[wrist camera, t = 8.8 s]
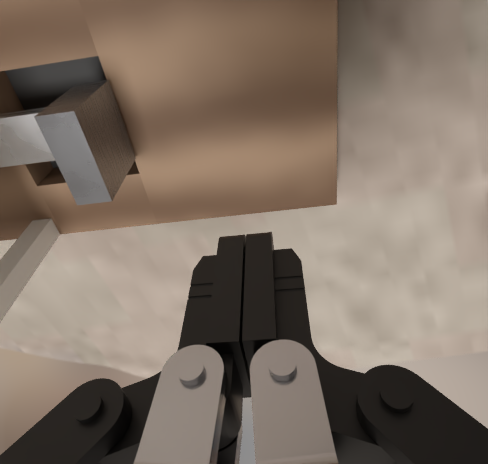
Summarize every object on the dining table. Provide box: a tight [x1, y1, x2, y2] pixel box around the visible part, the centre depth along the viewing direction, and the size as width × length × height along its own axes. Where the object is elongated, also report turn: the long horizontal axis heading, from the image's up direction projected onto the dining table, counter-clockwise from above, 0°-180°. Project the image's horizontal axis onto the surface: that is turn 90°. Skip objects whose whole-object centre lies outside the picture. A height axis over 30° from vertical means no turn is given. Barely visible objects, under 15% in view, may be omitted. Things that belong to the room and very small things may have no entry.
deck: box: [0, 0, 338, 241], centre depth 25 cm, size 16×40×3 cm, turn 98°
